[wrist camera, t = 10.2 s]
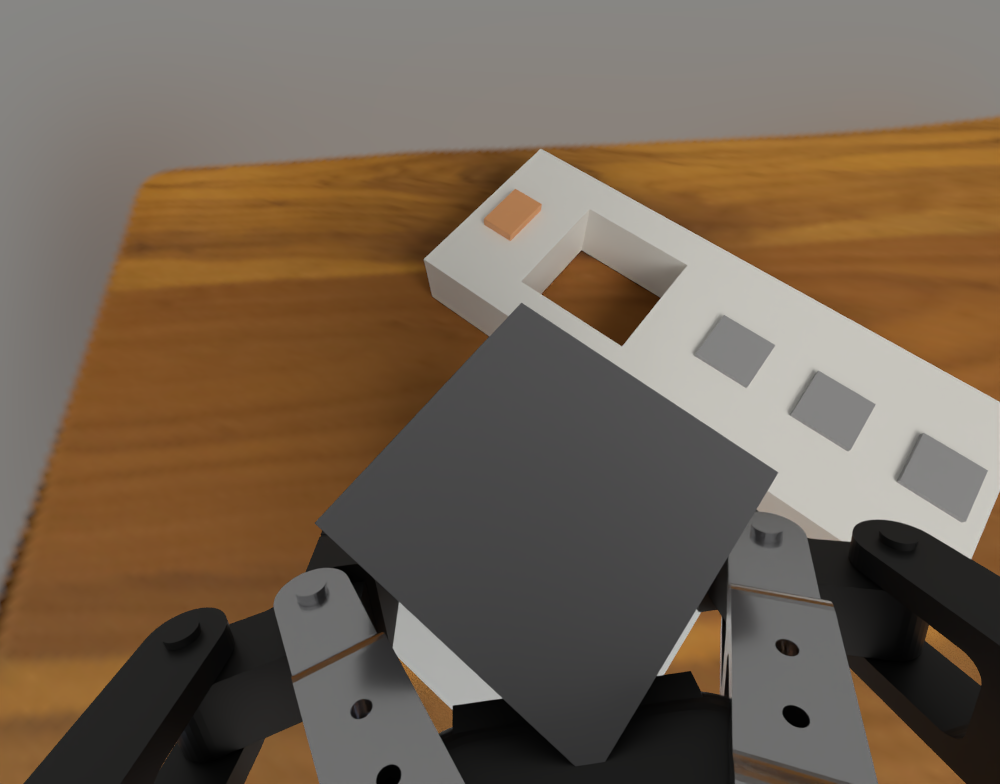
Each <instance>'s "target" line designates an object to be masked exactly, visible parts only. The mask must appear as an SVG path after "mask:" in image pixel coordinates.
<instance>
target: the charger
mask: <svg viewBox="0 0 1000 784" xmlns="http://www.w3.org/2000/svg"><path fill="white" fill-rule="evenodd" d="M778 473H779V472H777V471H775V470H774V469H772V468H771V467H769V466H768V465H766V464H765V463H763V462H762V461H760V460H759V459H757V458H756V457H754V456H753V455H751V454H750V453H748V452H747V451H745V450H744V449H742V448H741V447H739V446H738V445H736V444H735V443H733V442H732V441H730V440H729V439H727V438H726V437H724V436H723V435H721V434H720V433H718V432H717V431H715V430H713V429H712V428H710V427H709V426H707V425H706V424H704V423H703V422H701V421H700V420H698V419H697V418H695V417H694V416H692V415H691V414H689V413H688V412H686V411H685V410H683V409H682V408H680V407H679V406H677V405H676V404H674V403H673V402H671V401H670V400H668V399H667V398H665V397H664V396H662V395H661V394H659V393H658V392H656V391H655V390H653V389H651V388H650V387H648V386H647V385H645V384H644V383H642V382H641V381H639V380H638V379H636V378H635V377H633V376H632V375H630V374H629V373H627V372H626V371H624V370H623V369H621V368H620V367H618V366H617V365H615V364H614V363H612V362H611V361H609V360H608V359H606V358H605V357H603V356H602V355H600V354H599V353H597V352H596V351H594V350H592V349H591V348H589V347H588V346H586V345H585V344H583V343H582V342H580V341H579V340H577V339H576V338H574V337H573V336H571V335H570V334H568V333H567V332H565V331H564V330H562V329H561V328H559V327H558V326H556V325H555V324H553V323H552V322H550V321H549V320H547V319H546V318H544V317H543V316H541V315H540V314H538V313H537V312H535V311H534V310H532V309H530V308H529V307H527V306H526V305H524V304H523V303H521V304H520V305H519V306H518V307H517V308H516V309H515V310H514V311H513V312H512V313H511V314H510V315H509V316H508V317H507V318H506V320H505V321H504V322H503V323H502V324H501V325H500V326H499V327H498V328H497V329H496V330H495V331H494V332H493V333H492V334H491V336H490V337H489V338H488V339H487V340H486V341H485V342H484V343H483V344H482V345H481V346H480V347H479V348H478V349H477V350H476V352H475V353H474V354H473V355H472V356H471V357H470V358H469V359H468V360H467V361H466V362H465V363H464V364H463V365H462V366H461V368H460V369H459V370H458V371H457V372H456V373H455V374H454V375H453V376H452V377H451V378H450V379H449V380H448V381H447V382H446V384H445V385H444V386H443V387H442V388H441V389H440V390H439V391H438V392H437V393H436V394H435V395H434V396H433V397H432V398H431V400H430V401H429V402H428V403H427V404H426V405H425V406H424V407H423V408H422V409H421V410H420V411H419V412H418V413H417V414H416V416H415V417H414V418H413V419H412V420H411V421H410V422H409V423H408V424H407V425H406V426H405V427H404V428H403V429H402V430H401V432H400V433H399V434H398V435H397V436H396V437H395V438H394V439H393V440H392V441H391V442H390V443H389V444H388V445H387V446H386V448H385V449H384V450H383V451H382V452H381V453H380V454H379V455H378V456H377V457H376V458H375V459H374V460H373V461H372V462H371V464H370V465H369V466H368V467H367V468H366V469H365V470H364V471H363V472H362V473H361V474H360V475H359V476H358V477H357V478H356V480H355V481H354V482H353V483H352V484H351V485H350V486H349V487H348V488H347V489H346V490H345V491H344V492H343V493H342V494H341V496H340V497H339V498H338V499H337V500H336V501H335V502H334V503H333V504H332V505H331V506H330V507H329V508H328V509H327V510H326V512H325V513H324V514H323V515H322V516H321V517H320V518H319V519H318V520H317V521H316V522H315V524H316V525H317V526H318V527H319V528H320V529H322V530H323V531H324V532H325V533H326V534H327V535H328V536H329V537H330V538H331V539H332V540H333V541H334V542H335V543H337V544H338V545H339V546H340V547H341V548H342V549H343V550H344V551H345V552H346V553H347V554H348V555H349V556H350V557H352V558H353V559H354V560H355V561H356V562H357V563H358V564H359V565H360V566H361V567H362V568H363V569H364V570H366V571H367V572H368V573H369V574H370V575H371V576H372V577H373V578H374V579H375V580H376V581H377V582H378V583H379V584H381V585H382V586H383V587H384V588H385V589H386V590H387V591H388V592H389V593H390V594H391V595H392V596H393V597H394V598H396V599H397V600H398V601H399V602H400V603H401V604H402V605H403V606H404V607H405V608H406V609H407V610H408V611H409V612H411V613H412V614H413V615H414V616H415V617H416V618H417V619H418V620H419V621H420V622H421V623H422V624H423V625H424V626H426V627H427V628H428V629H429V630H430V631H431V632H432V633H433V634H434V635H435V636H436V637H437V638H438V639H439V640H441V641H442V642H443V643H444V644H445V645H446V646H447V647H448V648H449V649H450V650H451V651H452V652H453V653H454V654H456V655H457V656H458V657H459V658H460V659H461V660H462V661H463V662H464V663H465V664H466V665H467V666H468V667H469V668H471V669H472V670H473V671H474V672H475V673H476V674H477V675H478V676H479V677H480V678H481V679H482V680H483V681H484V682H486V683H487V684H488V685H489V686H490V687H491V688H492V689H493V690H494V691H495V692H496V693H497V694H498V695H499V696H501V697H502V698H503V699H504V700H505V701H506V702H507V703H508V704H509V705H510V706H511V707H512V708H513V709H514V710H516V711H517V712H518V713H519V714H520V715H521V716H522V717H523V718H524V719H525V720H526V721H527V722H528V723H529V724H531V725H532V726H533V727H534V728H535V729H536V730H537V731H538V732H539V733H540V734H541V735H542V736H543V737H544V738H546V739H547V740H548V741H549V742H550V743H551V744H552V745H553V746H554V747H555V748H556V749H557V750H558V751H559V752H561V753H562V754H563V755H564V756H565V757H566V758H567V759H568V760H569V761H570V762H571V763H572V764H573V765H574V766H581V765H588V764H594V763H601V762H605V761H606V759H607V758H608V756H609V754H610V753H611V751H612V749H613V748H614V746H615V744H616V743H617V741H618V739H619V738H620V736H621V734H622V733H623V731H624V729H625V728H626V726H627V724H628V723H629V721H630V719H631V718H632V716H633V714H634V713H635V711H636V709H637V708H638V706H639V704H640V703H641V701H642V699H643V698H644V696H645V694H646V693H647V691H648V689H649V688H650V686H651V684H652V683H653V681H654V679H655V678H656V676H657V674H658V673H659V671H660V669H661V668H662V666H663V664H664V663H665V661H666V659H667V658H668V656H669V654H670V653H671V651H672V649H673V648H674V646H675V644H676V643H677V641H678V639H679V638H680V636H681V634H682V633H683V631H684V629H685V628H686V626H687V624H688V623H689V621H690V619H691V618H692V616H693V614H694V613H695V611H696V609H697V608H698V606H699V604H700V603H701V601H702V599H703V598H704V596H705V594H706V593H707V591H708V589H709V588H710V586H711V584H712V583H713V581H714V579H715V578H716V576H717V574H718V573H719V571H720V569H721V568H722V566H723V564H724V563H725V561H726V559H727V558H728V556H729V554H730V553H731V551H732V549H733V548H734V546H735V544H736V543H737V541H738V539H739V538H740V536H741V534H742V533H743V531H744V529H745V528H746V526H747V524H748V523H749V521H750V519H751V518H752V516H753V514H754V513H755V511H756V509H757V508H758V506H759V504H760V503H761V501H762V499H763V498H764V496H765V494H766V493H767V491H768V489H769V488H770V486H771V484H772V483H773V481H774V479H775V478H776V476H777V474H778Z"/></svg>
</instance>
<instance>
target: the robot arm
mask: <svg viewBox="0 0 1000 784" xmlns="http://www.w3.org/2000/svg"><path fill="white" fill-rule="evenodd" d="M398 606H399V601H398V600H397V599H396V598H394V597H393V596H392V595H391V594H390V593H389V592H388V591H387V590H386V589H385V588H384V587H383V586H382V585H381V584H379V583H378V582H377V581H376V580H375V579H374V578H373V577H372V576H371V575H370V574H369V573H368V572H367V571H366V570H364V569H363V568H362V567H361V566H360V565H359V564H358V563H357V562H356V561H355V560H354V559H353V558H352V557H350V556H349V555H348V554H347V553H346V552H345V551H344V550H343V549H342V548H341V547H340V546H339V545H338V544H337V543H335V542H334V541H333V540H332V539H331V538H330V537H329V536H328V535H327V534H326V533H325V532H324V531H323V530H322V533H321V537H320V538H319V540H318V543H317V545H316V548H315V550H314V553H313V555H312V558H311V560H310V563H309V565H308V568H307V570H306V572H305V573H303V574H301V575H299V576H297V577H295V578H294V579H292V580H291V581H289V582H288V583H287V584H286V585H285V586H283V587H282V589H281V590H280V591H279V592H278V594H277V595H276V598H275V600H274V607H273V608H271V609H269V610H267V611H265V612H262V613H260V614H257V615H254V616H251V617H249V618H246V619H243V620H240V621H237V622H235V623H232V624H229V623H228V621H227V618H226V616H225V614H224V613H223V612H222V611H221V610H219V609H216V608H199V609H194V610H191V611H188V612H185V613H182V614H180V615H178V616H176V617H174V618H172V619H170V620H168V621H167V622H165V623H164V624H162V625H161V626H159V627H158V628H157V629H156V630H154V631H153V632H152V633H151V634H150V635H149V636H148V637H147V638H146V639H145V641H144V642H143V643H142V644H141V645H140V647H139V648H138V649H137V650H136V651H135V652H134V654H133V655H132V656H131V657H130V658H129V660H128V661H127V662H126V663H125V664H124V666H123V667H122V668H121V669H120V670H119V671H118V673H117V674H116V675H115V676H114V677H113V679H112V680H111V681H110V682H109V683H108V684H107V686H106V687H105V688H104V689H103V690H102V692H101V693H100V694H99V695H98V696H97V697H96V699H95V700H94V701H93V702H92V703H91V705H90V706H89V707H88V708H87V709H86V710H85V712H84V713H83V714H82V715H81V716H80V718H79V719H78V720H77V721H76V722H75V723H74V725H73V726H72V727H71V728H70V729H69V731H68V732H67V733H66V734H65V735H64V737H63V738H62V739H61V740H60V741H59V742H58V744H57V745H56V746H55V747H54V748H53V750H52V751H51V752H50V753H49V754H48V755H47V757H46V758H45V759H44V760H43V761H42V763H41V764H40V765H39V766H38V767H37V768H36V770H35V771H34V772H33V773H32V774H31V776H30V777H29V778H28V779H27V780H26V781H25V783H24V784H244V783H245V781H246V778H247V776H248V774H249V772H250V770H251V768H252V766H253V764H254V761H255V759H256V757H257V755H258V753H259V751H260V749H261V747H262V744H263V742H264V739H265V738H266V737H269V736H271V735H273V734H275V733H278V732H280V731H282V730H284V729H287V728H289V727H291V726H293V725H296V724H298V723H300V722H302V721H303V724H304V728H305V731H306V735H307V739H308V742H309V746H310V750H311V754H312V757H313V761H314V765H315V768H316V772H317V776H318V780H319V783H320V784H878V782H877V778H876V774H875V770H874V766H873V761H872V757H871V753H870V749H869V745H868V741H867V737H866V733H865V729H864V725H863V721H862V717H861V713H860V709H859V705H858V701H857V697H856V693H855V689H854V685H853V681H852V677H851V673H850V669H849V667H850V668H851V669H852V670H853V671H854V672H855V673H856V674H857V675H858V676H859V677H860V678H861V679H862V680H863V681H864V682H865V683H866V684H867V685H868V686H869V687H870V688H871V689H872V690H873V691H874V692H875V693H876V694H877V695H878V696H879V697H880V698H881V699H882V700H883V701H884V702H885V703H886V704H887V705H888V706H889V707H890V708H891V709H892V710H893V711H894V712H895V713H896V714H897V715H898V716H899V717H900V718H901V719H902V720H903V721H904V722H905V723H906V724H907V725H908V726H909V727H910V728H911V729H912V730H913V731H914V732H915V733H916V734H917V735H918V736H919V737H920V738H921V739H922V740H923V741H924V742H925V743H926V744H927V745H928V746H929V747H930V748H931V749H932V750H933V751H934V752H935V753H936V754H937V755H938V756H939V757H940V758H941V759H942V760H943V761H944V762H945V763H946V764H947V765H948V766H949V767H950V768H951V769H952V770H953V771H954V772H955V773H956V774H957V775H958V776H959V777H960V778H961V779H962V780H963V781H964V782H965V783H966V784H1000V576H998V575H996V574H995V573H993V572H991V571H990V570H988V569H986V568H985V567H983V566H981V565H980V564H978V563H976V562H975V561H973V560H971V559H970V558H968V557H966V556H965V555H963V554H961V553H960V552H958V551H956V550H955V549H953V548H951V547H950V546H948V545H946V544H945V543H943V542H941V541H940V540H938V539H936V538H935V537H933V536H931V535H930V534H928V533H926V532H924V531H923V530H920V529H918V528H916V527H913V526H910V525H907V524H904V523H900V522H895V521H890V520H867V521H863V522H860V523H858V524H857V525H856V526H855V527H854V528H853V532H852V537H851V542H847V541H834V540H821V539H811V538H807V536H806V533H805V532H804V530H803V529H802V528H801V527H800V526H799V525H797V524H796V523H794V522H793V521H791V520H789V519H787V518H785V517H782V516H779V515H776V514H772V513H767V512H759V511H758V510H757V509H756V511H755V513H754V514H753V516H752V518H751V519H750V521H749V523H748V524H747V526H746V528H745V529H744V531H743V533H742V534H741V536H740V538H739V539H738V541H737V543H736V544H735V546H734V548H733V549H732V551H731V553H730V554H729V556H728V558H727V559H726V561H725V563H724V564H723V566H722V568H721V569H720V571H719V573H718V574H717V576H716V578H715V579H714V581H713V583H712V584H711V586H710V588H709V589H708V591H707V593H706V594H705V596H704V598H703V599H702V601H701V603H700V604H699V606H698V608H697V610H698V612H704V611H711V610H718V611H719V612H720V614H721V616H722V620H721V647H720V695H718V694H713V693H708V692H701V691H700V689H699V687H698V685H697V683H696V681H695V679H694V677H693V675H692V673H691V671H688V672H682V673H675V674H668V675H661V676H656V678H655V679H654V681H653V683H652V684H651V686H650V688H649V689H648V691H647V693H646V694H645V696H644V698H643V699H642V701H641V703H640V704H639V706H638V708H637V709H636V711H635V713H634V714H633V716H632V718H631V719H630V721H629V723H628V724H627V726H626V728H625V729H624V731H623V733H622V734H621V736H620V738H619V739H618V741H617V743H616V744H615V746H614V748H613V749H612V751H611V753H610V754H609V756H608V758H607V759H606V761H605V762H601V763H594V764H588V765H581V766H574V765H573V764H572V763H571V762H570V761H569V760H568V759H567V758H566V757H565V756H564V755H563V754H562V753H561V752H559V751H558V750H557V749H556V748H555V747H554V746H553V745H552V744H551V743H550V742H549V741H548V740H547V739H546V738H544V737H543V736H542V735H541V734H540V733H539V732H538V731H537V730H536V729H535V728H534V727H533V726H532V725H531V724H529V723H528V722H527V721H526V720H525V719H524V718H523V717H522V716H521V715H520V714H519V713H518V712H517V711H516V710H514V709H513V708H512V707H511V706H510V705H509V704H508V703H507V702H506V701H505V700H504V699H503V698H502V699H495V700H488V701H481V702H474V703H467V704H460V705H453V727H452V728H449V729H447V730H445V731H442V732H441V733H439V734H438V732H437V730H436V728H435V726H434V725H433V723H432V721H431V719H430V717H429V715H428V713H427V711H426V710H425V708H424V706H423V704H422V702H421V700H420V698H419V696H418V694H417V693H416V691H415V689H414V687H413V685H412V683H411V681H410V679H409V678H408V676H407V674H406V672H405V670H404V668H403V666H402V664H401V663H400V661H399V659H398V657H397V655H396V653H395V651H394V649H393V642H394V634H395V627H396V620H397V613H398ZM929 625H930V626H931V627H933V628H934V629H935V630H937V631H938V632H939V633H941V634H942V635H943V636H944V637H946V638H947V639H948V640H950V641H951V642H952V643H954V644H955V645H956V646H957V647H959V648H960V649H961V650H962V651H964V652H965V653H966V654H967V655H968V656H969V657H970V658H971V660H972V661H973V662H974V664H975V665H976V667H977V669H978V671H979V673H980V676H981V681H982V685H981V686H980V685H979V684H978V683H977V682H975V681H974V680H973V679H972V678H970V677H969V676H968V675H967V674H965V673H964V672H963V671H962V670H960V669H959V668H958V667H957V666H955V665H954V664H953V663H952V662H950V661H949V660H948V659H947V658H946V657H944V656H943V655H942V654H941V653H939V652H938V651H937V650H936V649H934V648H933V647H932V646H931V645H929V644H928V643H927V642H926V641H925V638H926V634H927V630H928V626H929ZM176 742H177V743H176ZM175 744H176V745H175ZM174 745H175V746H174ZM173 747H174V748H173ZM172 748H173V749H172ZM171 750H172V751H171ZM170 752H171V753H170ZM169 753H170V754H169ZM168 755H169V756H168ZM167 756H168V757H167ZM166 758H167V759H166ZM164 761H165V762H164ZM163 763H164V764H163ZM162 764H163V765H162ZM161 766H162V767H161Z"/></svg>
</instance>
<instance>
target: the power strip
mask: <svg viewBox="0 0 1000 784" xmlns="http://www.w3.org/2000/svg"><path fill="white" fill-rule="evenodd" d="M581 250H582V251H584V252H585V253H587V254H589V255H590V256H592V257H594V258H595V259H597V260H599V261H600V262H602V263H604V264H605V265H607V266H609V267H610V268H612V269H614V270H615V271H617V272H619V273H620V274H622V275H624V276H625V277H627V278H629V279H630V280H632V281H634V282H635V283H637V284H639V285H640V286H642V287H644V288H645V289H647V290H649V291H650V292H652V293H654V294H655V295H657V296H659V297H660V298H661V299H660V300H659V301H658V302H657V304H656V305H655V306H654V307H653V309H652V310H651V311H650V312H649V314H648V315H647V316H646V317H645V319H644V320H643V321H642V322H641V324H640V325H639V326H638V327H637V329H636V330H635V331H634V332H633V334H632V335H631V336H630V337H629V338H628V340H627V341H626V342H625V343H624V345H623V346H620V345H619V344H617V343H616V342H614V341H613V340H611V339H609V338H608V337H606V336H605V335H603V334H602V333H600V332H599V331H597V330H596V329H594V328H592V327H591V326H589V325H588V324H586V323H585V322H583V321H582V320H580V319H579V318H577V317H575V316H574V315H572V314H571V313H569V312H568V311H566V310H565V309H563V308H561V307H560V306H558V305H557V304H555V303H554V302H552V301H551V300H549V299H548V298H546V297H544V296H543V295H541V294H542V293H543V291H544V290H545V289H546V288H547V287H548V286H549V285H550V284H551V283H552V282H553V281H554V279H555V278H556V277H557V276H558V275H559V274H560V273H561V272H562V271H563V270H564V269H565V267H566V266H567V265H568V264H569V263H570V262H571V261H572V260H573V259H574V258H575V257H576V255H577V254H578V253H579V252H580V251H581ZM424 263H425V267H426V271H427V276H428V280H429V284H430V289H431V293H432V297H434V298H435V299H436V300H438V301H439V302H441V303H442V304H444V305H445V306H446V307H448V308H449V309H451V310H452V311H454V312H455V313H456V314H458V315H459V316H461V317H462V318H464V319H465V320H467V321H468V322H469V323H471V324H472V325H474V326H475V327H477V328H478V329H479V330H481V331H482V332H484V333H485V334H487V335H488V336H491V334H492V333H493V332H494V331H495V330H496V329H497V328H498V327H499V326H500V325H501V324H502V323H503V322H504V321H505V320H506V318H507V317H508V316H509V315H510V314H511V313H512V312H513V311H514V310H515V309H516V308H517V307H518V306H519V305H520V304H521V303H523V304H524V305H526V306H527V307H529V308H530V309H532V310H534V311H535V312H537V313H538V314H540V315H541V316H543V317H544V318H546V319H547V320H549V321H550V322H552V323H553V324H555V325H556V326H558V327H559V328H561V329H562V330H564V331H565V332H567V333H568V334H570V335H571V336H573V337H574V338H576V339H577V340H579V341H580V342H582V343H583V344H585V345H586V346H588V347H589V348H591V349H592V350H594V351H596V352H597V353H599V354H600V355H602V356H603V357H605V358H606V359H608V360H609V361H611V362H612V363H614V364H615V365H617V366H618V367H620V368H621V369H623V370H624V371H626V372H627V373H629V374H630V375H632V376H633V377H635V378H636V379H638V380H639V381H641V382H642V383H644V384H645V385H647V386H648V387H650V388H651V389H653V390H655V391H656V392H658V393H659V394H661V395H662V396H664V397H665V398H667V399H668V400H670V401H671V402H673V403H674V404H676V405H677V406H679V407H680V408H682V409H683V410H685V411H686V412H688V413H689V414H691V415H692V416H694V417H695V418H697V419H698V420H700V421H701V422H703V423H704V424H706V425H707V426H709V427H710V428H712V429H713V430H715V431H717V432H718V433H720V434H721V435H723V436H724V437H726V438H727V439H729V440H730V441H732V442H733V443H735V444H736V445H738V446H739V447H741V448H742V449H744V450H745V451H747V452H748V453H750V454H751V455H753V456H754V457H756V458H757V459H759V460H760V461H762V462H763V463H765V464H766V465H768V466H769V467H771V468H772V469H774V470H775V471H777V472H779V473H778V474H777V476H776V478H775V479H774V481H773V483H772V484H771V486H770V488H769V489H768V491H767V493H766V494H765V496H764V498H763V499H762V501H761V503H760V504H759V506H758V508H757V510H758V511H759V512H767V513H772V514H776V515H779V516H782V517H785V518H787V519H789V520H791V521H793V522H794V523H796V524H797V525H799V526H800V527H801V528H802V529H803V530H804V532H805V533H806V536H807V538H811V539H821V540H834V541H847V542H851V537H852V532H853V528H854V527H855V526H856V525H857V524H858V523H860V522H863V521H867V520H890V521H895V522H900V523H904V524H907V525H910V526H913V527H916V528H918V529H920V530H923V531H924V532H926V533H928V534H930V535H931V536H933V537H935V538H936V539H938V540H940V541H941V542H943V543H945V544H946V545H948V546H950V547H951V548H953V549H955V550H956V551H958V552H960V553H961V554H963V555H965V556H966V557H968V558H970V559H971V558H972V556H973V554H974V551H975V549H976V546H977V544H978V542H979V539H980V537H981V534H982V532H983V530H984V527H985V525H986V522H987V520H988V518H989V515H990V513H991V510H992V508H993V506H994V503H995V501H996V499H997V496H998V494H999V491H1000V402H999V401H997V400H995V399H993V398H991V397H990V396H988V395H986V394H984V393H982V392H981V391H979V390H977V389H975V388H973V387H971V386H970V385H968V384H966V383H964V382H962V381H961V380H959V379H957V378H955V377H953V376H952V375H950V374H948V373H946V372H944V371H943V370H941V369H939V368H937V367H935V366H933V365H932V364H930V363H928V362H926V361H924V360H923V359H921V358H919V357H917V356H915V355H914V354H912V353H910V352H908V351H906V350H904V349H903V348H901V347H899V346H897V345H895V344H894V343H892V342H890V341H888V340H886V339H885V338H883V337H881V336H879V335H877V334H876V333H874V332H872V331H870V330H868V329H866V328H865V327H863V326H861V325H859V324H857V323H856V322H854V321H852V320H850V319H848V318H847V317H845V316H843V315H841V314H839V313H837V312H836V311H834V310H832V309H830V308H828V307H827V306H825V305H823V304H821V303H819V302H818V301H816V300H814V299H812V298H810V297H809V296H807V295H805V294H803V293H801V292H799V291H798V290H796V289H794V288H792V287H790V286H789V285H787V284H785V283H783V282H781V281H780V280H778V279H776V278H774V277H772V276H770V275H769V274H767V273H765V272H763V271H761V270H760V269H758V268H756V267H754V266H752V265H751V264H749V263H747V262H745V261H743V260H741V259H740V258H738V257H736V256H734V255H732V254H731V253H729V252H727V251H725V250H723V249H722V248H720V247H718V246H716V245H714V244H713V243H711V242H709V241H707V240H705V239H703V238H702V237H700V236H698V235H696V234H694V233H693V232H691V231H689V230H687V229H685V228H684V227H682V226H680V225H678V224H676V223H674V222H673V221H671V220H669V219H667V218H665V217H664V216H662V215H660V214H658V213H656V212H655V211H653V210H651V209H649V208H647V207H646V206H644V205H642V204H640V203H638V202H636V201H635V200H633V199H631V198H629V197H627V196H626V195H624V194H622V193H620V192H618V191H617V190H615V189H613V188H611V187H609V186H607V185H606V184H604V183H602V182H600V181H598V180H597V179H595V178H593V177H591V176H589V175H588V174H586V173H584V172H582V171H580V170H578V169H577V168H575V167H573V166H571V165H569V164H568V163H566V162H564V161H562V160H560V159H559V158H557V157H555V156H553V155H551V154H550V153H548V152H546V151H544V150H542V149H540V150H539V151H538V152H537V153H536V154H535V155H534V156H533V157H532V158H530V159H529V160H528V161H527V162H526V163H525V164H524V165H523V166H522V167H521V168H520V169H519V170H518V171H517V172H516V173H515V174H513V175H512V176H511V177H510V178H509V179H508V180H507V181H506V182H505V183H504V184H503V185H502V186H501V187H500V188H499V189H498V190H497V191H495V192H494V193H493V194H492V195H491V196H490V197H489V198H488V199H487V200H486V201H485V202H484V203H483V204H482V205H481V206H480V207H478V208H477V209H476V210H475V211H474V212H473V213H472V214H471V215H470V216H469V217H468V218H467V219H466V220H465V221H464V222H463V223H462V224H460V225H459V226H458V227H457V228H456V229H455V230H454V231H453V232H452V233H451V234H450V235H449V236H448V237H447V238H446V239H445V240H443V241H442V242H441V243H440V244H439V245H438V246H437V247H436V248H435V249H434V250H433V251H432V252H431V253H430V254H429V255H428V256H426V257H425V258H424Z"/></svg>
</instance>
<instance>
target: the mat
mask: <svg viewBox="0 0 1000 784" xmlns="http://www.w3.org/2000/svg"><path fill="white" fill-rule="evenodd" d="M700 613H701V612H698V610H697V609H696V611H695V613H694V614H693V616H692V618H691V619H690V621H689V623H688V624H687V626H686V628H685V629H684V631H683V633H682V634H681V636H680V638H679V639H678V641H677V643H676V644H675V646H674V648H673V649H672V651H671V653H670V654H669V656H668V658H667V659H666V661H665V663H664V664H663V666H662V668H661V669H660V671H659V673H658V674H657V676H661V675H664V674H665V672H666V670H667V669H668V667H669V665H670V663H671V662H672V660H673V658H674V657H675V655H676V653H677V652H678V650H679V648H680V647H681V645H682V643H683V642H684V640H685V638H686V637H687V635H688V633H689V632H690V630H691V628H692V626H693V625H694V623H695V621H696V620H697V618H698V616H699V615H700ZM393 649H394V651H395V653H396V655H397V657H398V658H399V659H400V660H401V661H402V662H403V663H404V664H406V665H407V666H408V667H409V668H410V669H411V670H412V671H413V672H414V673H415V674H416V675H417V676H418V677H419V678H420V679H421V680H422V681H423V682H424V683H425V684H426V685H427V686H428V687H429V688H430V689H431V690H432V691H433V692H434V693H435V694H436V695H437V696H439V697H440V698H441V699H442V700H443V701H444V702H445V703H446V704H447V705H448V706H449V707H450V708H451V709H452V710H453V705H460V704H467V703H474V702H481V701H488V700H495V699H502V697H501V696H499V695H498V694H497V693H496V692H495V691H494V690H493V689H492V688H491V687H490V686H489V685H488V684H487V683H486V682H484V681H483V680H482V679H481V678H480V677H479V676H478V675H477V674H476V673H475V672H474V671H473V670H472V669H471V668H469V667H468V666H467V665H466V664H465V663H464V662H463V661H462V660H461V659H460V658H459V657H458V656H457V655H456V654H454V653H453V652H452V651H451V650H450V649H449V648H448V647H447V646H446V645H445V644H444V643H443V642H442V641H441V640H439V639H438V638H437V637H436V636H435V635H434V634H433V633H432V632H431V631H430V630H429V629H428V628H427V627H426V626H424V625H423V624H422V623H421V622H420V621H419V620H418V619H417V618H416V617H415V616H414V615H413V614H412V613H411V612H409V611H408V610H407V609H406V608H405V607H404V606H403V605H402V604H401V603H400V602H399V606H398V613H397V620H396V627H395V634H394V642H393Z"/></svg>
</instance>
